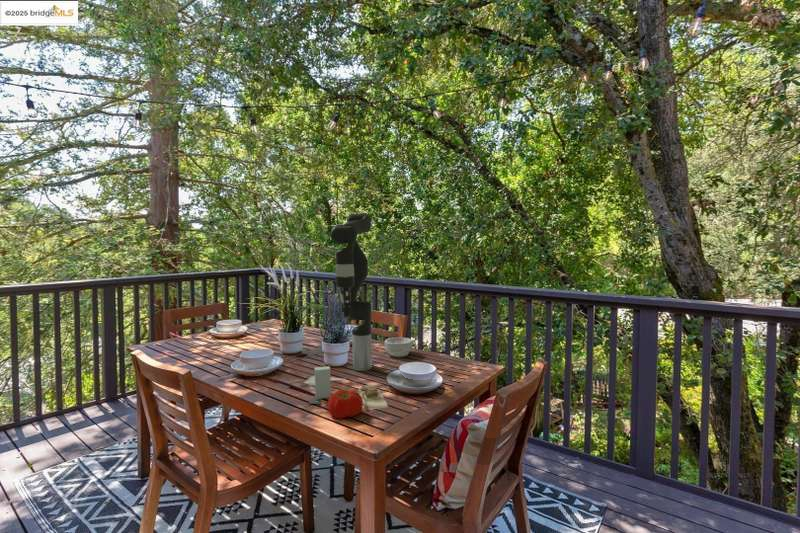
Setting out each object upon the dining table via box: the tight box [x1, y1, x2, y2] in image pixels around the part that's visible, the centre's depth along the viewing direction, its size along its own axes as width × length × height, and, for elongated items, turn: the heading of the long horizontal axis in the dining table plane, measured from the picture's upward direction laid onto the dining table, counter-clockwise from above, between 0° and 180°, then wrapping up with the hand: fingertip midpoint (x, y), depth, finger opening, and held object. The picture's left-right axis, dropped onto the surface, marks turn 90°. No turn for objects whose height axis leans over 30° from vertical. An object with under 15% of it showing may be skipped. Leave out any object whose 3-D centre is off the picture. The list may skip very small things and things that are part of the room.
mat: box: [308, 395, 322, 406], centre depth 168 cm, size 12×8×1 cm, turn 173°
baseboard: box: [303, 372, 345, 386], centre depth 183 cm, size 31×3×12 cm
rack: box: [357, 387, 390, 411], centre depth 165 cm, size 18×9×2 cm, turn 13°
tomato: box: [327, 389, 363, 420], centre depth 152 cm, size 14×13×9 cm
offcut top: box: [363, 384, 378, 394], centre depth 169 cm, size 5×4×2 cm
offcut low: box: [363, 390, 377, 398], centre depth 169 cm, size 6×4×2 cm
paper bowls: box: [384, 337, 414, 358], centre depth 226 cm, size 15×15×8 cm
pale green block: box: [314, 365, 332, 400], centre depth 168 cm, size 4×6×12 cm, turn 103°
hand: (345, 314), depth 172 cm, fingers open, 8 cm apart
